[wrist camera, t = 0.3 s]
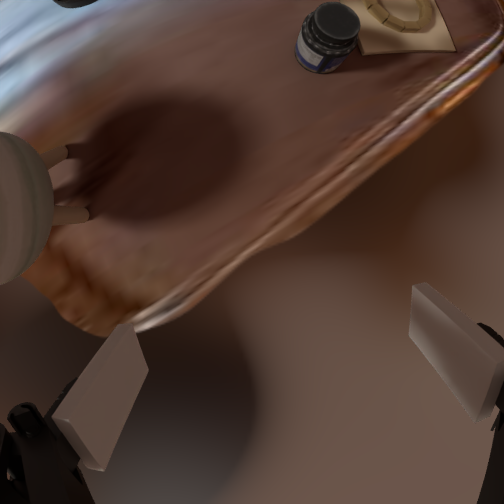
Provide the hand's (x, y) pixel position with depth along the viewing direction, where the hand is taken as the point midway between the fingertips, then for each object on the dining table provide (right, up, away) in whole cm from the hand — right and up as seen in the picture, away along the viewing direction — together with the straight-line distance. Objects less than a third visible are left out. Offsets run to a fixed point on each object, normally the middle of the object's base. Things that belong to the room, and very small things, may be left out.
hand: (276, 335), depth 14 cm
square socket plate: (+19, +39, +17) cm, 46 cm away
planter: (-29, +12, +25) cm, 40 cm away
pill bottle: (+7, +29, +20) cm, 36 cm away
